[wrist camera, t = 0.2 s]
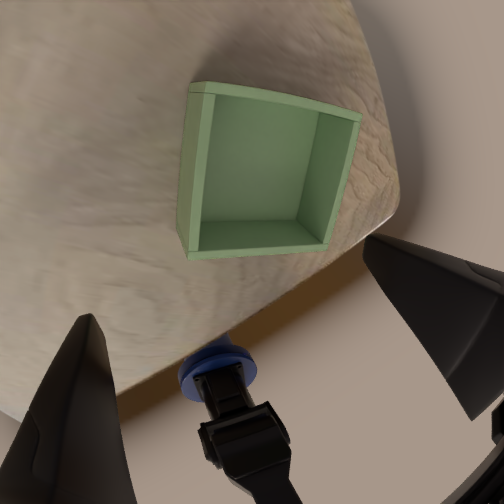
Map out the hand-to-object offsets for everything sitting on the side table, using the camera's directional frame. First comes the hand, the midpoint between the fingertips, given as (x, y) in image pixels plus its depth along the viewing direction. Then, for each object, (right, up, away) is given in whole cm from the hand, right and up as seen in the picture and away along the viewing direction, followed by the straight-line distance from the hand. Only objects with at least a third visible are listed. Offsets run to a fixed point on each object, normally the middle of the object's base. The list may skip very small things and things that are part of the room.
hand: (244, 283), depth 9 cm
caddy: (0, +8, +14) cm, 16 cm away
